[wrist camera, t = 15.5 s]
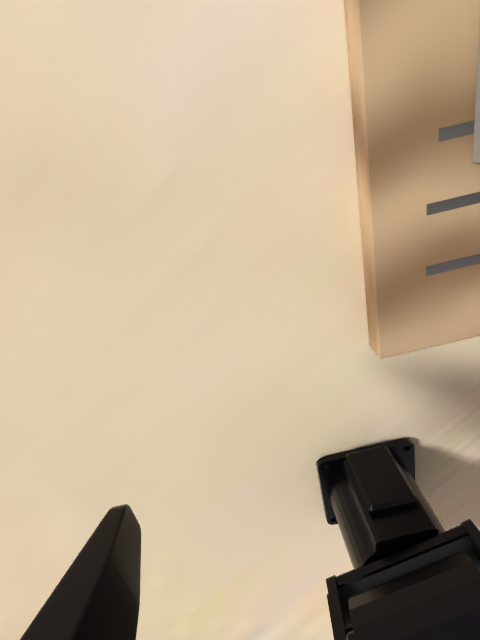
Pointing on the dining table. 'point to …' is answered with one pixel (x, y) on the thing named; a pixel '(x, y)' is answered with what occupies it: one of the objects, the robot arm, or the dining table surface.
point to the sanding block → (477, 114)
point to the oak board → (416, 168)
